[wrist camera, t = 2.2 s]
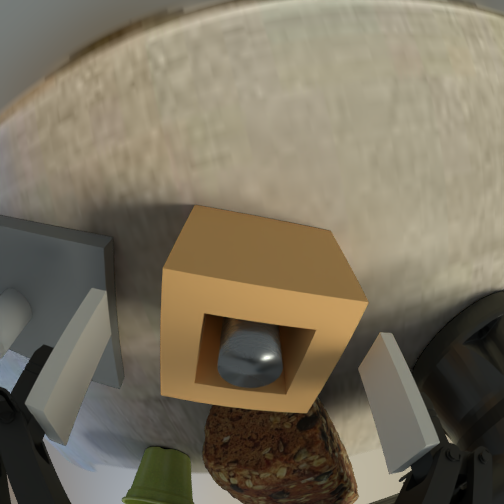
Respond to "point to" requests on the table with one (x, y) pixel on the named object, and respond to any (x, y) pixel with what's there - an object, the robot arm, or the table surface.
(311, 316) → the collar
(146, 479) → the plant pot
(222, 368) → the shiny metal cylinder
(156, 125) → the table surface
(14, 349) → the board
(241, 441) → the bread
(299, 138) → the table surface
